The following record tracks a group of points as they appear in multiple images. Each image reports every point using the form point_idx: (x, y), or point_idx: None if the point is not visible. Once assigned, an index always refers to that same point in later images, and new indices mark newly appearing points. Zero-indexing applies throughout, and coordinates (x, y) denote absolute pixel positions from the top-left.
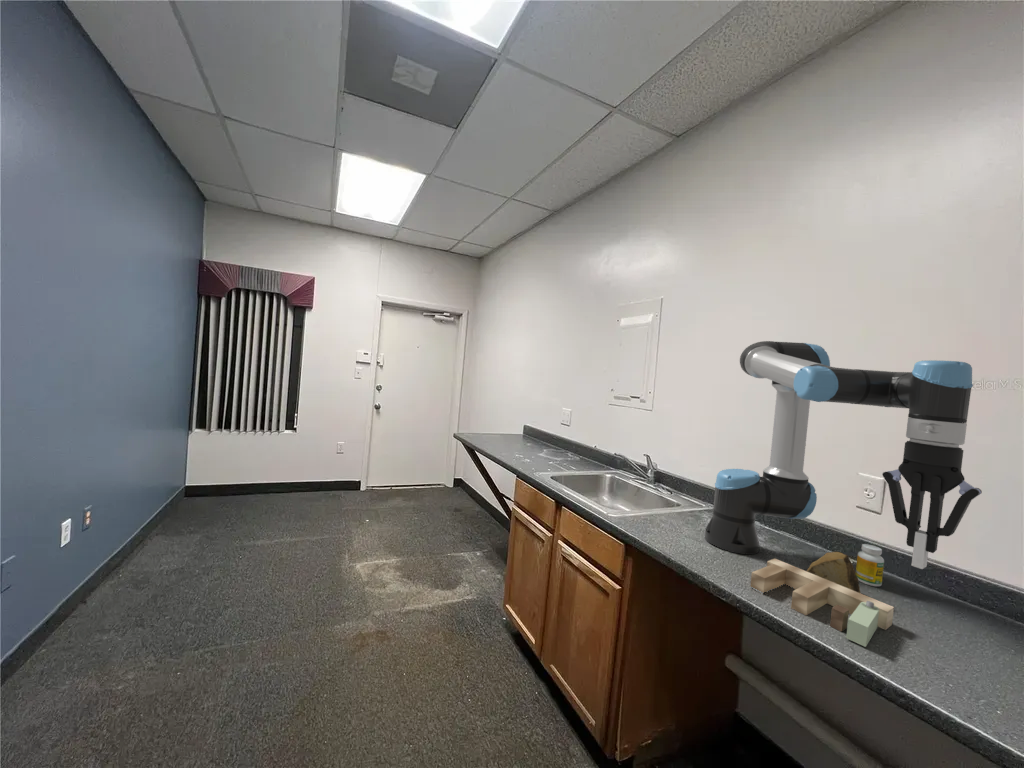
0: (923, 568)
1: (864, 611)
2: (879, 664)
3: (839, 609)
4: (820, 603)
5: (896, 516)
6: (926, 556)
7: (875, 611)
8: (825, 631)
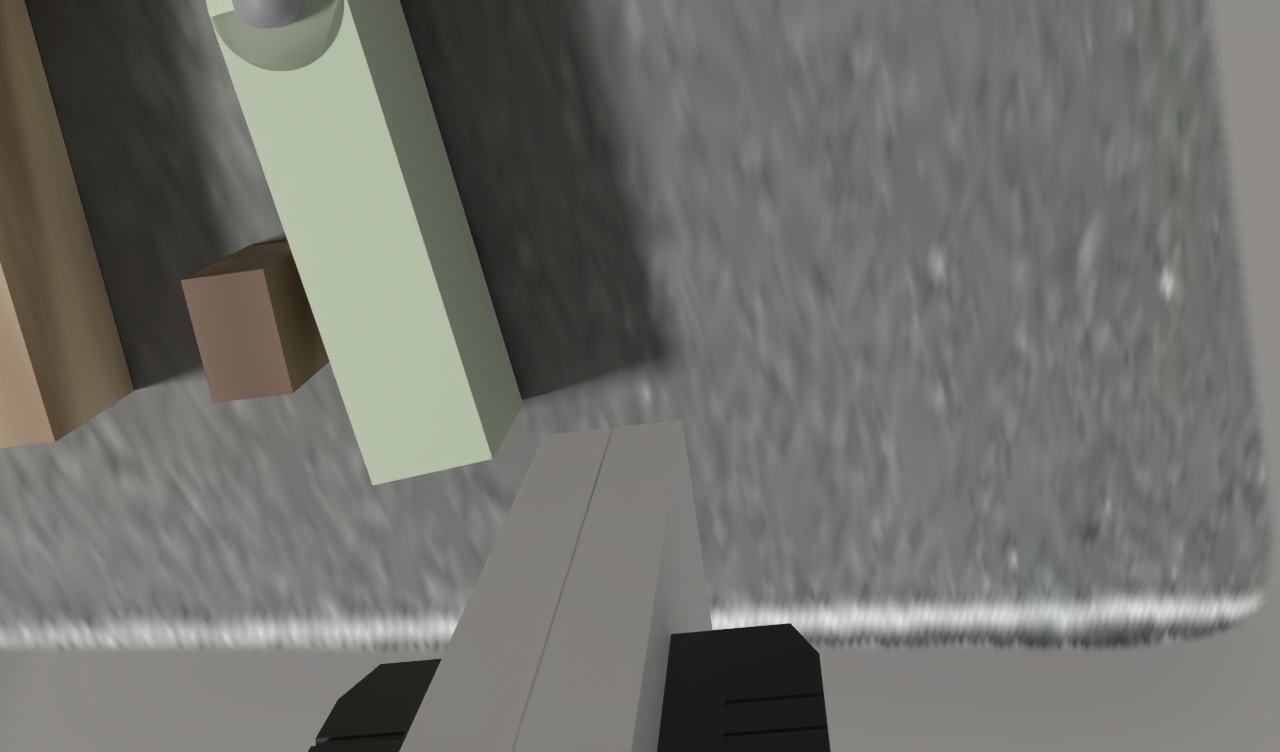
0: (705, 586)
1: (327, 186)
2: None
3: (244, 360)
4: (39, 128)
5: None
6: (682, 585)
7: (351, 62)
8: (314, 463)
